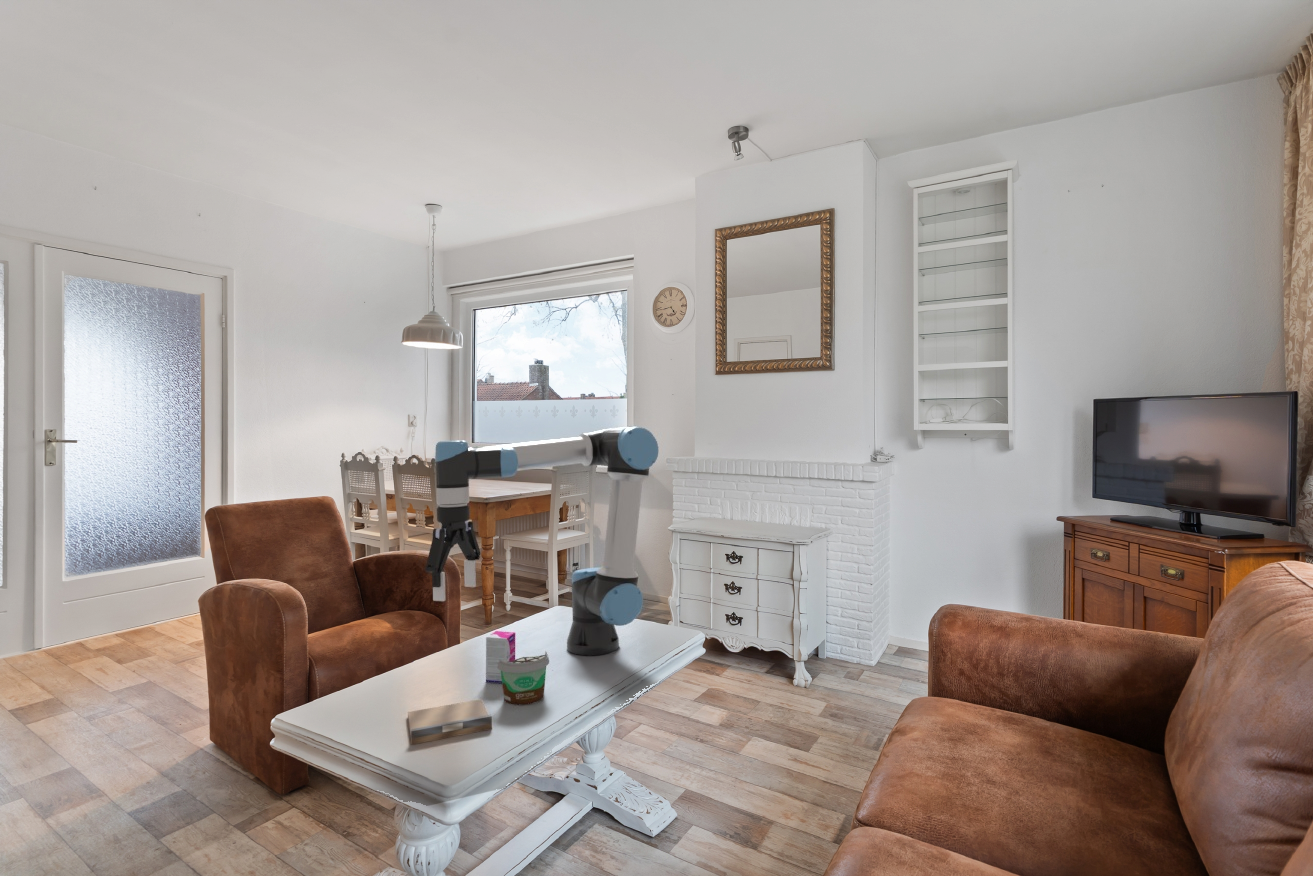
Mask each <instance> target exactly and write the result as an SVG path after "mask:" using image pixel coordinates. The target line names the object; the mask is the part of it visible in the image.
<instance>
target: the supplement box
mask: <svg viewBox="0 0 1313 876" xmlns="http://www.w3.org/2000/svg"><path fill="white" fill-rule="evenodd" d="M485 641H486V642H485V683H491V684H502V678H501V670H499V669H498V668H497V667H498V662H499V659H500V660H502V661H504V662H508V661H513V660H516V632H515V631H513V632H512V631H500V630H499V631H498V630H496V631H494V632H492V633H490V634H489V635H488V636H486V637H485Z"/></svg>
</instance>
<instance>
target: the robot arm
mask: <svg viewBox="0 0 1313 876" xmlns="http://www.w3.org/2000/svg"><path fill="white" fill-rule="evenodd" d="M434 453H435V454H434V455H435V456H434V462H435V465H434V466H435V485H436V486H435V487H436V492H435V493H436V504H437V505H438V506H437V508H436V521H437V523H440V524H441V528H433V529H432V540H431V545H430V548H429V553H428V557H427V561H426V565H425V567H424V569H425V572H427V573H430V574H431V575H432V576H431V578H432V581H431V582H432V600H433V601H435V602H445V601H446V576H445V575H446V572H445V571H444V568H445V566H446V562H447V560H448V557H449V554H450V552H451V549H452V548H454V547H455V545H458V547H459V549H460V551H461V552H462V554H463V556H464V557H465V559H466V560H463V567H464V568H463V574H464V579H463V580H464V587H467V588H469V587H470V588H475V587H477V576H476V574H477V573H476V560H477V561H479V560H480V558H481V557H480V556H481V549H480V546H479V543H478V540H477V537H476V534H475V530H474V522H473V521H469V520H470V517H471V514H470V511H471V510H470V505H469V503H470V480H475V479H476V480H477V479H494V478H497V479H499V478H502V479H504V478H509V477H513V476H515V475H516V474H517V472H519V471H527V470H535V469H542V468H543V469H544V468H552V467H560V466H561V467H562V466H569V465H578V464H581V465H583V467H589V466H602V467H607V470H606V471H607V472H606V474H607V475H608V476H609V478H610V479H611V483H610V490H609V491H610V493H609V503H608V510H607V511H608V512H607V519H606V520H607V522H606V530H605V531H606V532H605V541H604V547H603V548H604V550H603V551H604V552H603V561H602V565H601V566H600V567H597V566H596V567H588V568H582V569H576V570H575V571H573V572H572V575H571V582H570V583H571V600H572V603H571V604H572V605H571V607H572V622H571V625H570V629H569V633H568V635H567V639H566V650H567V651H568V652H570V653H572V654H575V655H580V656H599V655H606V654H610V653H612V652H614V651H617V650H618V649H619V647H620V646H619V645H620V643H619V642H620V639H619V635H618V633H617V629H616V626H619V627H620V626H626V625H629V624H630V623H632V622H633V621H635V619H636V618H638V617H639V615H640V613H641V611H642V608H643V606H644V596H643V593H642V591H641V589H640V588H639V587H638V580H639V574H638V572H637V571H636V570H635V569H634V567H635V557H636V547H637V540H638V539H637V538H638V537H637V536H638V530H639V529H638V527H639V518H640V517H639V516H640V510H641V509H640V507H641V498H642V488H643V482H644V481H645V480H646V479H648V478H649V473H650V467H652V466H653V465H654V464H655V463H656V461H657V460H658V457H659V445H658V441H657V439H656V437H655V435H654V434H653V433H652V432H651V431H650V430H648V429H646V428H645V427H641V426H636V425H633V426H632V425H630V426H621V427H620V426H616V427H615V426H614V427H609V428H605V429H601V430H596V431H592V432H591V431H590V432H584V433H583V432H582V433H581V434H580V435H579V436H578V437H577V436H576V437H567V438H560V439H559V438H558V439H547V440H537V441H527V442H517V443H507V444H496V445H486V446H471V447H469V443H468V441H467V440H441V441H438V442H437V443H436V444H435V452H434Z"/></svg>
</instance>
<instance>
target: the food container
mask: <svg viewBox="0 0 1313 876" xmlns="http://www.w3.org/2000/svg"><path fill="white" fill-rule="evenodd" d="M549 664H550V658H549V655H548V652H547V651H545V653H544V654H542V655H538V656H523V657H522V656H521V657H519V658H515V660H513V661H508V662H504V661H502V660H500V659H499V662H498V667H497V668H498V669H499V670H501V678H502V683H501V684H502V685H501V686H502V692H503V693H502V694H503V701H504V702H505V703H506V704H508V705H513V706H528V705H532V704H536V703H538V702H540V701H542V700H543V698H544V697H545V688H546V687H545V685H546V675H547V674H546V672H547V666H548V665H549Z"/></svg>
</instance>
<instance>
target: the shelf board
mask: <svg viewBox="0 0 1313 876" xmlns="http://www.w3.org/2000/svg"><path fill="white" fill-rule="evenodd" d="M407 719H408V727H409V735H410V743H411V744H410V745H416V744H422V743H426V742H432V741H437V740H442V739H447V738H452V737H457V736H462V735H467V734H473V733H478V732H483V731H488V730H492V729H493V716H492V714H491V713H490V714H489V713H488V711H487V708H486V706H485V703H484V702H483V698H480V699H479V698H478V699H475V700H469V701H464V702H459V703H458V702H457V703H451V704H447V705H440V706H435V707H429V708H423V709H418V710H412V711H408V712H407Z"/></svg>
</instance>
